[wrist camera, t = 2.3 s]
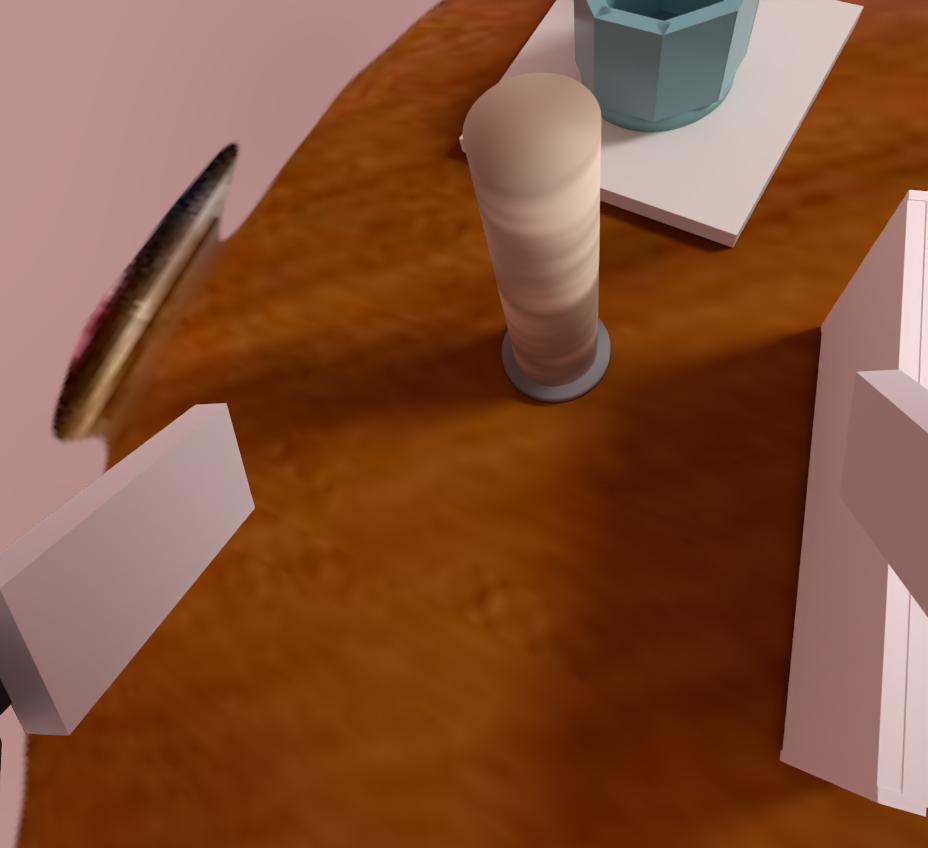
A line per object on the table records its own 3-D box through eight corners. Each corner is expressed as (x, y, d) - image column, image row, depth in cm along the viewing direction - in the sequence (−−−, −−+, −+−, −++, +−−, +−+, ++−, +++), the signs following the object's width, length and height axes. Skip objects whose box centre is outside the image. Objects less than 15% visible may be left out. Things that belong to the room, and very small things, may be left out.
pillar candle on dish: (628, 332, 32) (655, 84, 19) (578, 420, 31) (567, 223, 18) (535, 292, 34) (498, 39, 21) (484, 375, 33) (409, 164, 19)
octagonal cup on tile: (856, 23, 36) (913, -118, 30) (732, 247, 33) (767, 142, 26) (593, -37, 42) (593, -167, 35) (462, 151, 38) (436, 44, 32)
